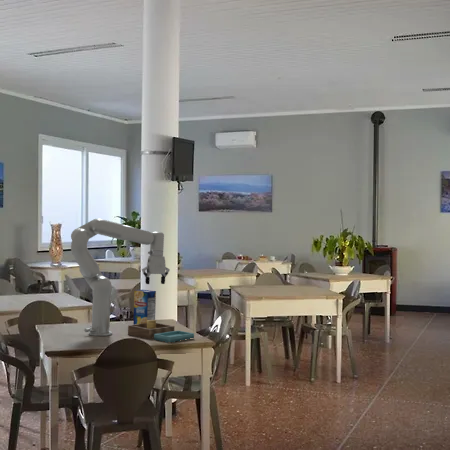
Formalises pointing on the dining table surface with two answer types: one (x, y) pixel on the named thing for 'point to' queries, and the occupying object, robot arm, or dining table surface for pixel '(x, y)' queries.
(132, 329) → the brown wooden tray
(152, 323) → the mustard cylinder
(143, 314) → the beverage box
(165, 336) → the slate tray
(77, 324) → the dining table surface
